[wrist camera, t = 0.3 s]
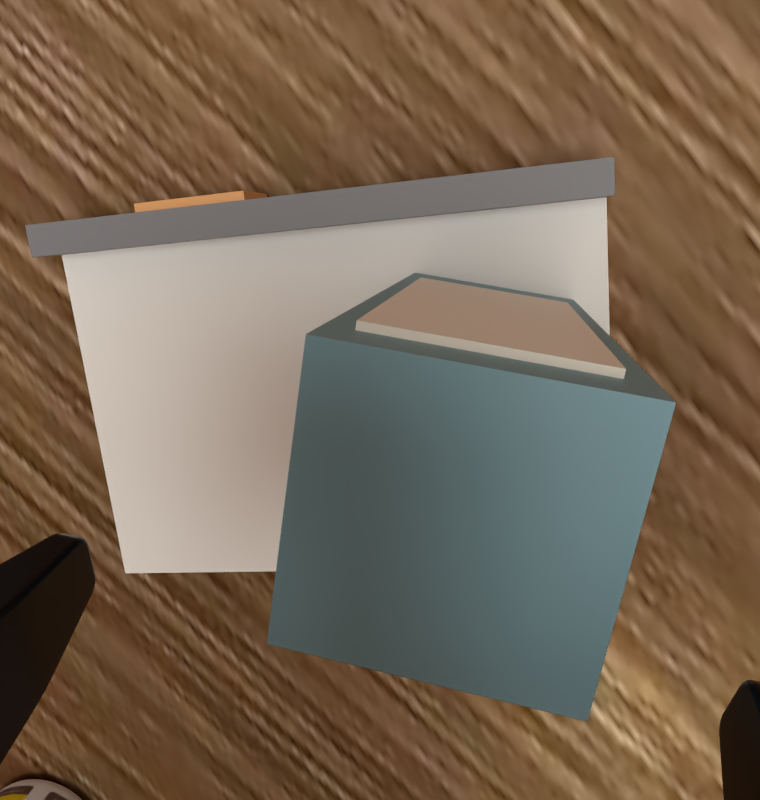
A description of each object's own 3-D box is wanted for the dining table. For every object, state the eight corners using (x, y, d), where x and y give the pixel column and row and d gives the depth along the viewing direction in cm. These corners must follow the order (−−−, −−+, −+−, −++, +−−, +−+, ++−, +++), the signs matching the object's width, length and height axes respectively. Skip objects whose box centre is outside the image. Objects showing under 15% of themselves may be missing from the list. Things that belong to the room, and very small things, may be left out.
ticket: (267, 203, 23) (244, 200, 21) (167, 214, 24) (135, 213, 22) (266, 194, 23) (243, 190, 21) (166, 205, 24) (133, 203, 22)
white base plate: (609, 550, 24) (623, 591, 22) (140, 558, 28) (102, 594, 25) (600, 165, 22) (614, 157, 19) (76, 225, 25) (25, 225, 22)
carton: (539, 450, 23) (587, 722, 10) (390, 421, 23) (266, 643, 11) (574, 294, 21) (679, 391, 9) (415, 268, 22) (307, 323, 10)
